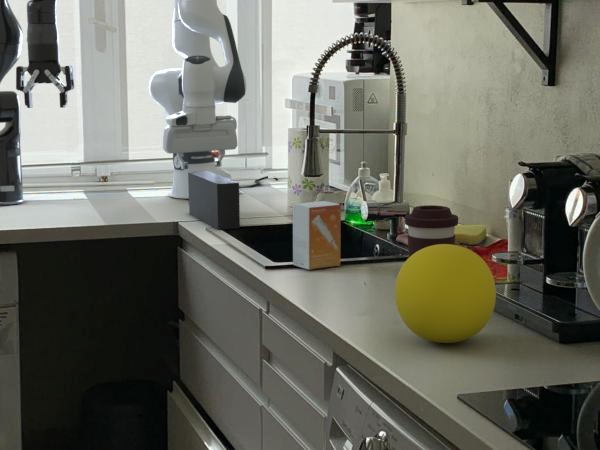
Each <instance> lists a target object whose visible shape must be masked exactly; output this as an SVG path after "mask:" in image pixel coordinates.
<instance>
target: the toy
mask: <svg viewBox="0 0 600 450" xmlns="http://www.w3.org/2000/svg"><path fill="white" fill-rule="evenodd" d="M394 295H395V296H394V297H395V304H396V308H397V311H398V314H399V316H400V319H401V320H402V322H403V323H404V325H405V326H406V327H407V328H408V329H409V330H410V331H411V332H412V333H414V334H415V335H416V336H418V337H420V338H421V339H424V340H427V341H430V342H434V343H439V344H454V343H458V342H462V341H466V340H468V339H471V338H472V337H475V335H477V334H478V333H480V332H481V331H482V330H483V329H484V328H485V327H486V325H487V324H488V323H489V321H490V319H491V317H492V316H493V313H494V310H495V307H496V301H497V289H496V283H495V278H494V275H493V274H492V271H491V269H490V267H489V265H488V264H487V263H486V261H485V260H484V259H483V258H482V257H481V256H480V255H479V254H477V253H476V252H475V251H473V250H471V249H470V248H467V247H465V246H461V245H457V244H454V245H452V244H438V245H432V246H429V247H425V248H423V249H421V250H419V251H417V252H416V253H414V254H413V255H412V256H410V257H409V256H408V258H407V259H406V260H405V261H404V263H403V264H402V265H401V268H400V269H399V272H398V274H397V276H396V280H395V287H394Z"/></svg>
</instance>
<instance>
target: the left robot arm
mask: <svg viewBox="0 0 600 450" xmlns="http://www.w3.org/2000/svg"><path fill="white" fill-rule="evenodd" d="M26 18H27V20H26V21H27V30H26V42H27V58H28V59H27V60H28V65H27V66H23V65H18V66H16V68H15V89H16V91H20V92H23V98H24V105H25V107H26V109H33V106H34V105H33V104H34V103H33V92H32V90H33V88H35V86H36V85H37V84H53V85H54V86H55V87H56V88H57V89H58V91H59V93H58V94H59V108H61V109H63V108H64V109H65V108H66V106H68V92H70V91H72V90H74V89H75V81H74V80H75V79H74V71H73V66H72V65H66V66H62V65H61V64H60V47H59V45H60V44H59V32H58V27H57V26H58V25H57V0H28V1H27V3H26ZM23 39H24V32H23V27H22V26H21V24H20V22H19V20H18V18H17V16H16V15H15V14H14V11H13V10H12V8H11V5H10V3H9V1H8V0H0V84H2V81H3V80H4V78H5V76H6V75H7V74H8V73H9V72H10V71H11V70H12V68H13V67H14V66H15V65H16V64H17V62H18V61H19V59H20V57H21V54H22V47H23ZM27 73H28V74H29V75H30V77H29V79H28V81H27V83H26V84H25V76H26V75H27ZM61 73H62V74H63V75H64V76H65V83H64V82H63V80H62V79H61V78H60V77H59V76H60V74H61ZM65 84H66V85H65ZM16 91H14V90H0V123H1V124H3V123H4V127H3V128H2V129H0V206H11V205H21V204H23V203H24V202H25V201H24V187H23V170H22V169H23V168H22V167H23V166H22V151H21V101H20V97H19V95H18V93H17V92H16Z"/></svg>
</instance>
